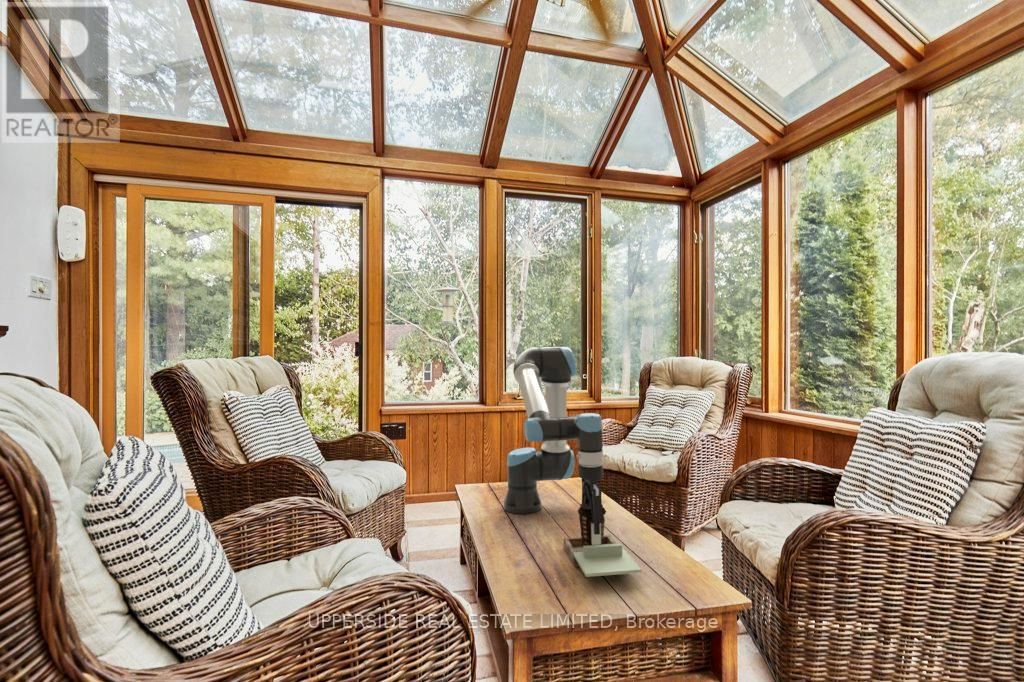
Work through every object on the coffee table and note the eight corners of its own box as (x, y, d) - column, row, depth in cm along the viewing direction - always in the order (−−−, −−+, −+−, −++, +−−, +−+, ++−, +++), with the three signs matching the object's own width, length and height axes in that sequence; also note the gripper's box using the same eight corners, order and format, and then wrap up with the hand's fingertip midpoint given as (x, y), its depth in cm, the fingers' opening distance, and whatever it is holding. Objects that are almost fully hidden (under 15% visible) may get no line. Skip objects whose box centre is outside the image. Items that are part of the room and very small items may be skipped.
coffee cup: (609, 543, 156) (608, 502, 156) (605, 554, 148) (604, 510, 148) (581, 540, 159) (580, 500, 159) (576, 551, 151) (575, 508, 151)
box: (563, 548, 160) (563, 538, 160) (609, 544, 161) (609, 534, 161) (574, 567, 146) (573, 556, 146) (624, 563, 147) (624, 552, 148)
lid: (573, 555, 146) (573, 542, 146) (623, 551, 148) (623, 538, 148) (586, 576, 132) (585, 562, 132) (641, 572, 134) (641, 558, 134)
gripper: (570, 457, 164) (572, 527, 163) (587, 473, 143) (589, 553, 143) (593, 456, 165) (595, 526, 164) (612, 471, 144) (615, 551, 144)
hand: (592, 538), depth 154 cm, fingers closed on coffee cup, 8 cm apart
